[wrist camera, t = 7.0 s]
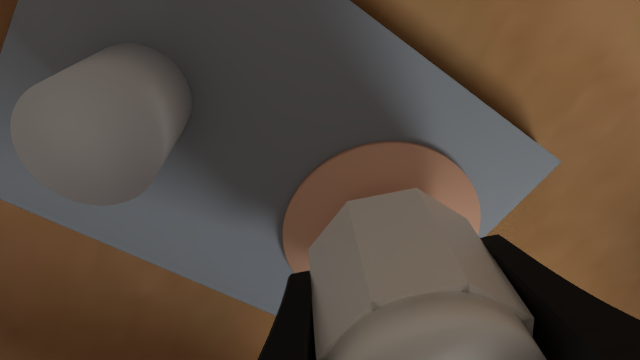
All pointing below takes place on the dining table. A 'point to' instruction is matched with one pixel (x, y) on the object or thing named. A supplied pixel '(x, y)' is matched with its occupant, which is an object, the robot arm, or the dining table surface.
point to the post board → (238, 131)
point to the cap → (412, 287)
